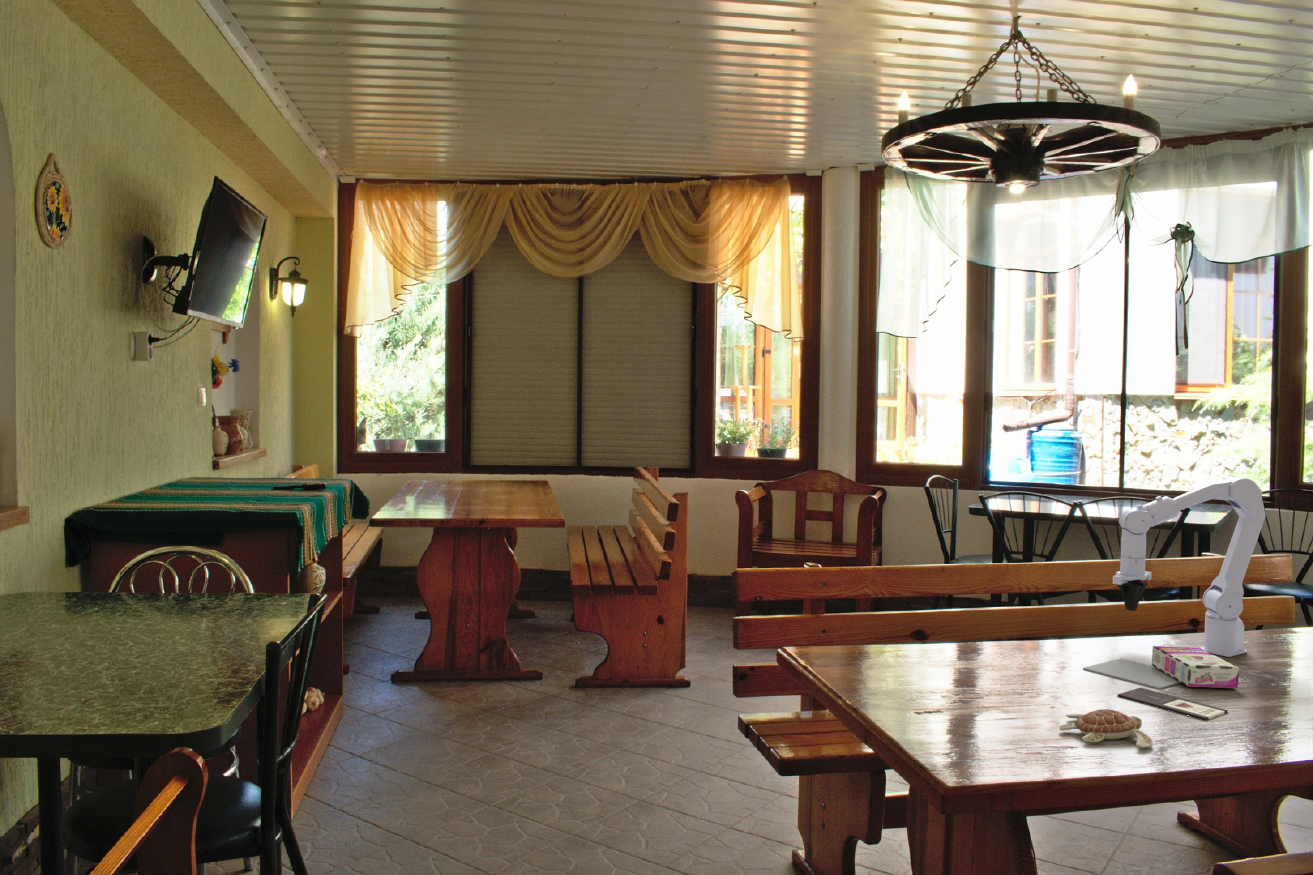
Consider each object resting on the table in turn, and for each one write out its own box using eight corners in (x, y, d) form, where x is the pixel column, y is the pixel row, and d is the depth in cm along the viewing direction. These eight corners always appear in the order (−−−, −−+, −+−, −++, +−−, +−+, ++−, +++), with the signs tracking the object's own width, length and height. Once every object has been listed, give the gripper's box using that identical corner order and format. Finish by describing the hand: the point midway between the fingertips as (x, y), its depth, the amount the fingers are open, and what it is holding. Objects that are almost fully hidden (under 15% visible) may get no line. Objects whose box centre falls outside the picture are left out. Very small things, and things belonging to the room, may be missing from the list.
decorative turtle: (1181, 748, 177) (1182, 721, 177) (1110, 759, 171) (1111, 730, 171) (1103, 717, 194) (1104, 692, 194) (1036, 725, 188) (1037, 700, 188)
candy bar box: (1150, 666, 228) (1186, 687, 212) (1151, 645, 228) (1188, 664, 212) (1199, 668, 228) (1239, 689, 211) (1200, 647, 228) (1240, 666, 211)
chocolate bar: (1140, 687, 211) (1227, 710, 196) (1140, 691, 211) (1227, 714, 196) (1117, 694, 206) (1205, 718, 191) (1117, 698, 206) (1205, 722, 191)
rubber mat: (1121, 659, 235) (1121, 658, 235) (1197, 678, 220) (1197, 676, 220) (1083, 669, 226) (1083, 667, 226) (1159, 689, 211) (1159, 687, 211)
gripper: (1133, 552, 254) (1131, 603, 255) (1101, 556, 246) (1099, 610, 247) (1160, 556, 249) (1158, 609, 249) (1128, 560, 240) (1126, 615, 241)
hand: (1131, 609), depth 248 cm, fingers closed
